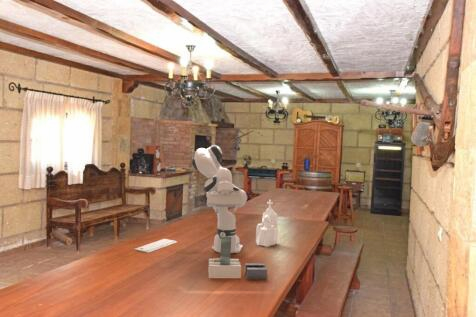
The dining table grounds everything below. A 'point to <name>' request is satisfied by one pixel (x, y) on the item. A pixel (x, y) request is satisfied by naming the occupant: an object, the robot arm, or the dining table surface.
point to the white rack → (224, 269)
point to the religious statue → (267, 228)
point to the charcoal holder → (255, 271)
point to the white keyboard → (155, 245)
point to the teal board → (225, 250)
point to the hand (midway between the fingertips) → (225, 212)
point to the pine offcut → (216, 259)
